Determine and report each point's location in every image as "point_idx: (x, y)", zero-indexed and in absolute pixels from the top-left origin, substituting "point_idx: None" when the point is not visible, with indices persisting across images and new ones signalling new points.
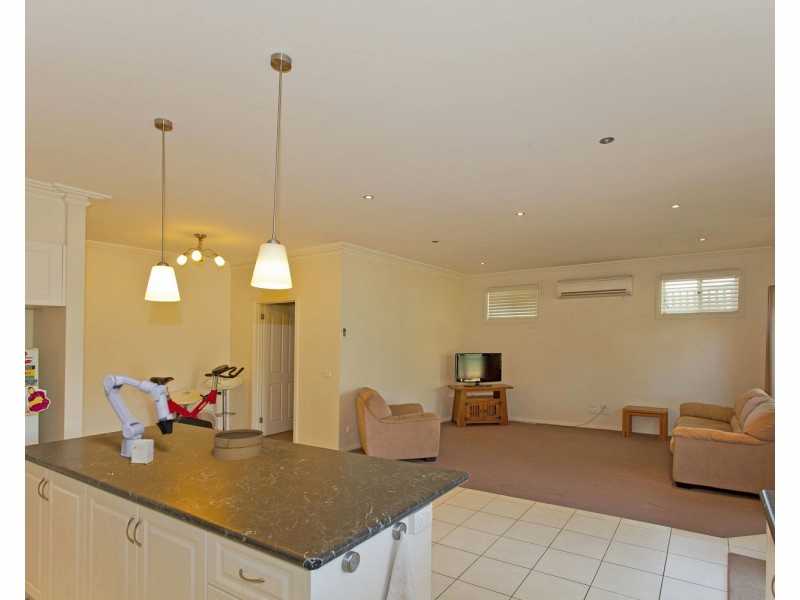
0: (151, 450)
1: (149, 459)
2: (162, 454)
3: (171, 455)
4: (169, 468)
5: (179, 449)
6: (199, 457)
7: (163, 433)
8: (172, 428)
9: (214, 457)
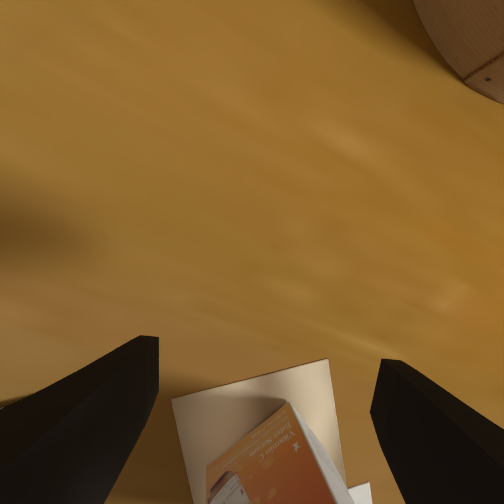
0: (334, 478)
1: (318, 442)
2: (151, 293)
3: (232, 259)
4: (496, 379)
5: (78, 127)
6: (420, 156)
7: (150, 399)
8: (468, 407)
9: (502, 101)
